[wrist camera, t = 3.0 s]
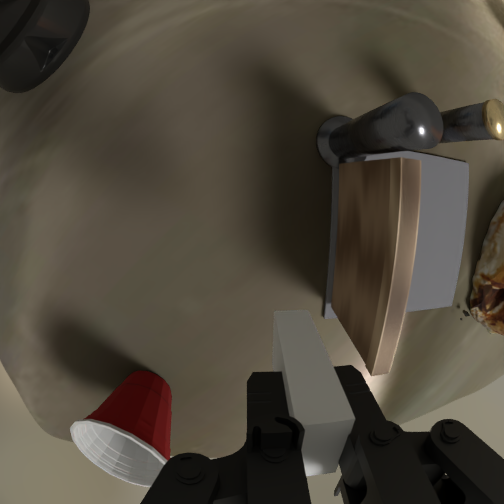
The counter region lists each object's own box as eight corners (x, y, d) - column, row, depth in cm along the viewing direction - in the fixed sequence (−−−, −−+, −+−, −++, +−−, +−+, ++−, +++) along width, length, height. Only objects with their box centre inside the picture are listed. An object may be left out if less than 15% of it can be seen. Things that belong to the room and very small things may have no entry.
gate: (338, 163, 24) (400, 157, 13) (352, 164, 24) (421, 160, 13) (329, 306, 27) (371, 376, 16) (343, 306, 27) (389, 373, 16)
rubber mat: (332, 142, 24) (333, 141, 23) (466, 163, 24) (468, 163, 24) (323, 316, 28) (324, 318, 28) (449, 304, 28) (451, 305, 28)
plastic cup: (101, 343, 29) (53, 409, 17) (191, 361, 29) (169, 445, 18) (113, 406, 31) (83, 470, 20) (190, 422, 32) (176, 496, 20)
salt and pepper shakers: (315, 96, 23) (371, 36, 10) (438, 119, 23) (527, 103, 10) (316, 168, 24) (381, 162, 12) (439, 180, 25) (532, 192, 12)
